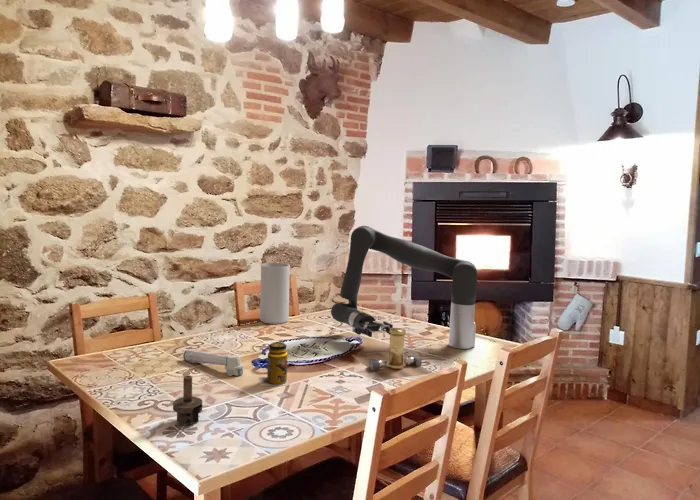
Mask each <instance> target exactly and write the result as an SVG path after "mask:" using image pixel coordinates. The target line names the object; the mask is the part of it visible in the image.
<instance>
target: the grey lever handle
mask: <svg viewBox="0 0 700 500" xmlns="http://www.w3.org/2000/svg"><path fill="white" fill-rule="evenodd" d="M182 357H183V360H184V361H186V362H190V363H192V364H195V363H198V364H199V363H200V364H209V365H218V366H219V365H220V366H224V369H225V371H226V373H225V374H226V375H227V376H229V377H230V376H231V377H233V376H240V375H243V374H244V370H243V368H244V367H245V365H244V364H243V363H242V362H241V357H240V355H237V354H236V355H234V354H233V355H232V354H231V355H225V354H218V353H213V352H210V351H209V352H208V351H203V350H198V349H197V348H196V349H195V348H194V349H186V350H185V351H184V352H183V354H182Z"/></svg>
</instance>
